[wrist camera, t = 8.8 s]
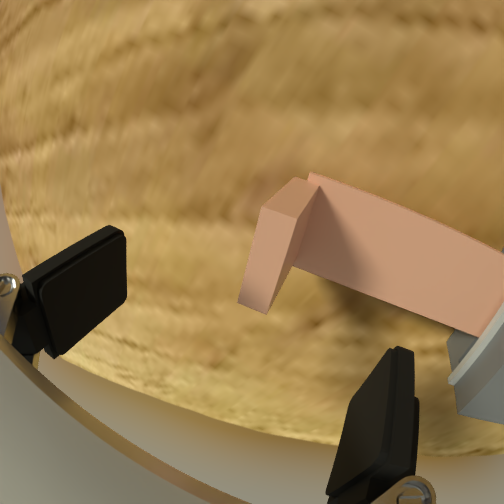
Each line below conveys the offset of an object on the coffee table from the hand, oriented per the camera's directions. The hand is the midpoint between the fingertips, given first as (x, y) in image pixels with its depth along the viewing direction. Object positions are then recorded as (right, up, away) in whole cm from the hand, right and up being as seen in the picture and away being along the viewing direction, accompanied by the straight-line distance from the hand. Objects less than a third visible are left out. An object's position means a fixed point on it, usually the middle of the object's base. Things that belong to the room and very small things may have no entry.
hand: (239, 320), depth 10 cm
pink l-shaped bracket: (+11, +1, +8) cm, 13 cm away
